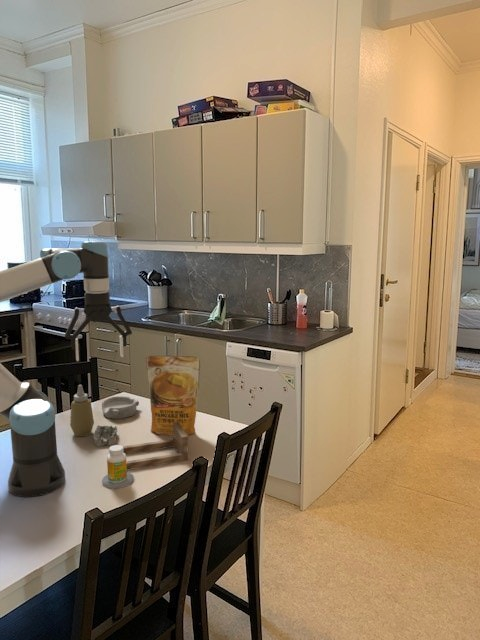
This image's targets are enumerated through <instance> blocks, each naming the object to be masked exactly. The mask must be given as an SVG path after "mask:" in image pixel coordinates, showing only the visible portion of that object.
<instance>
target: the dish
mask: <svg viewBox="0 0 480 640" xmlns="http://www.w3.org/2000/svg"><path fill="white" fill-rule="evenodd" d="M139 405H140V402H139V400H136V399H135V398H132V397H129V396H122V395H121V396H119V395H117V396H111V397H108V398H106V399H104V400H103V401H102V403H101V409H102V413H103V415H104V416H105V417H106V418H108V419H113V420H119V419H126V418H129V417H132V416H133V415H134V414H136V411H137V407H138V406H139Z"/></svg>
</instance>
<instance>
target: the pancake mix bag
mask: <svg viewBox="0 0 480 640" xmlns="http://www.w3.org/2000/svg"><path fill="white" fill-rule="evenodd" d="M145 361H146V362H145V363H146V373H147V384H148V395H149V401H150V413H151V427H150V432H153V433H155V434H157V435H165V436H173V422H179V423H180V425H181V426H182V428H183V429H184V431H185V433H186V434H187V436H190V435H192V434H194V435H195V434H196V428H195V423H196V417H197V406H198V400H199V399H198V398H199V390H200V389H199V388H200V373H201V372H200V371H201V362H200V361H201V360H200V359H199V358H197V356H191V355H190V356H189V355H188V356H187V355H186V356H184V355H183V356H181V355H178V356H177V355H149V356H148V357H145Z"/></svg>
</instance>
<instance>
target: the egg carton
mask: <svg viewBox="0 0 480 640" xmlns="http://www.w3.org/2000/svg"><path fill="white" fill-rule="evenodd" d="M117 432H118V426H116V425H115V426H112V425H103V426H102V425H99V424H98V425H96V428H95V430H94V433H93V434H92V437H93V439H94V445H95V446H98V447H102V446H103V445H108V446H113V445H116V440H117V436H118V435H117ZM101 435H102V436H103V437H102V438H101Z"/></svg>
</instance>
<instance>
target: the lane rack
mask: <svg viewBox="0 0 480 640" xmlns="http://www.w3.org/2000/svg"><path fill="white" fill-rule="evenodd" d="M122 446H123V450H124V451H123V453H125V454H133V453H138V452H146V451H154V450H160V449H166V448H172V447H173V448H174V449H175V450H176V453H173V454H172V453H171V454H165V455H160V456H152V457H145V458H140V459H139V458H137V459H133V460H126V467H127V470H132V469H133V470H134V469H140V468H146V467H153V466H158V465H164V464H171V463H177V462H184V461H189V435H187V434H186V433H185V431H184V429H183V428H182V426H181V425H180V423H179V422H173V435H172V439H165V440H158V441H157V440H156V441H152V442H151V441H150V442H143V443H139V444H136V443H135V444H131V445H122Z"/></svg>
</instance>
